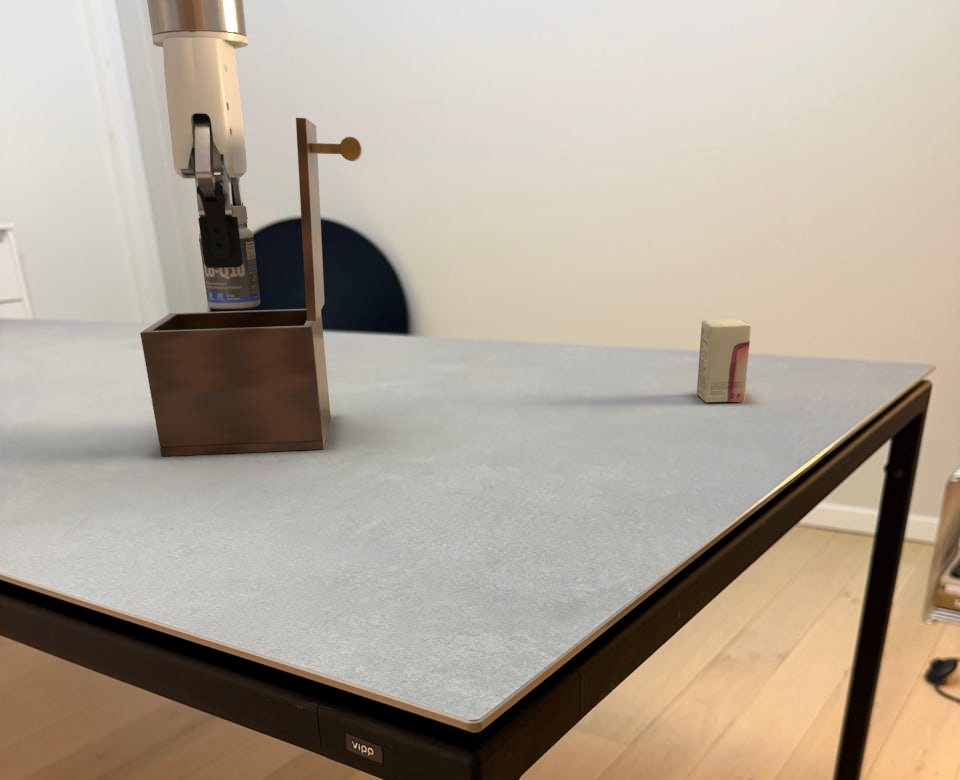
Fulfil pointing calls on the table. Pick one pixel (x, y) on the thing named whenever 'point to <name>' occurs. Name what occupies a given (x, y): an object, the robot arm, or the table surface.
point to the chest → (237, 382)
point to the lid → (315, 206)
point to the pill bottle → (234, 274)
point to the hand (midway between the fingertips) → (228, 262)
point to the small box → (723, 360)
